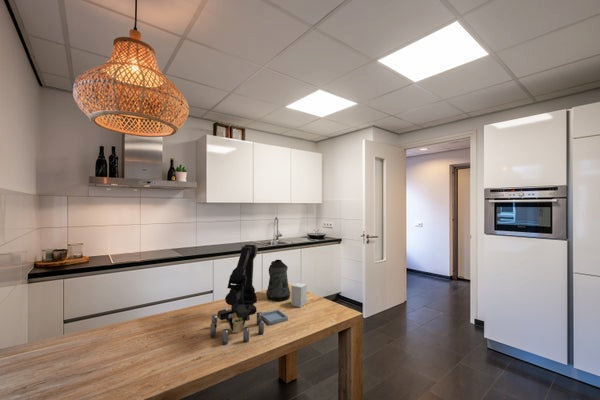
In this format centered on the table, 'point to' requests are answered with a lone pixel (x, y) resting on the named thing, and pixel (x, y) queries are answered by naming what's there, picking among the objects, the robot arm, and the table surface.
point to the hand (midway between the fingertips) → (237, 328)
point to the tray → (274, 317)
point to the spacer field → (245, 330)
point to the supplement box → (299, 295)
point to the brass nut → (237, 325)
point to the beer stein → (278, 282)
